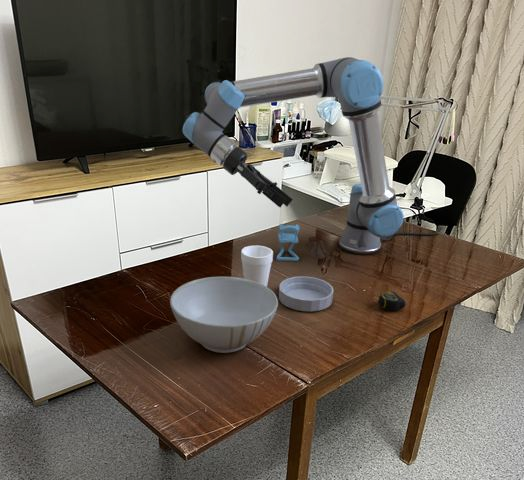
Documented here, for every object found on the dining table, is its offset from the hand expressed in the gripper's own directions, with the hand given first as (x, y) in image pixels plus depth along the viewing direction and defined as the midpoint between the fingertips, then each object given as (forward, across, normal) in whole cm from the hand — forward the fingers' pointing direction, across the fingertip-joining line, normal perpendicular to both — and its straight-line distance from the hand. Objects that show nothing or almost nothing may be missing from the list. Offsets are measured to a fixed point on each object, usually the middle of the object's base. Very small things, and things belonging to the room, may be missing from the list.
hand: (286, 203), depth 159 cm
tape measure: (+43, -2, -4) cm, 43 cm away
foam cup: (+9, 0, -26) cm, 28 cm away
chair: (+8, -30, -17) cm, 35 cm away
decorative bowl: (+12, +29, -34) cm, 47 cm away
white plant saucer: (+22, +1, -18) cm, 29 cm away
